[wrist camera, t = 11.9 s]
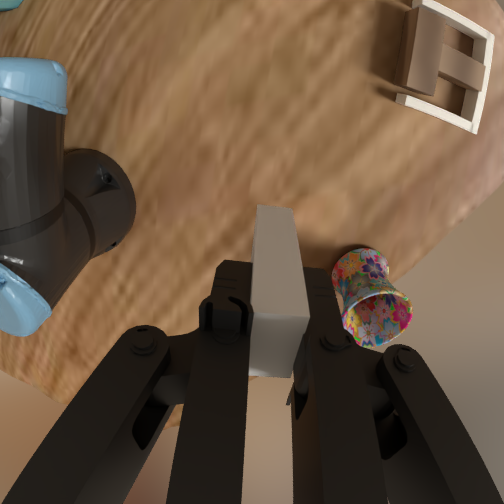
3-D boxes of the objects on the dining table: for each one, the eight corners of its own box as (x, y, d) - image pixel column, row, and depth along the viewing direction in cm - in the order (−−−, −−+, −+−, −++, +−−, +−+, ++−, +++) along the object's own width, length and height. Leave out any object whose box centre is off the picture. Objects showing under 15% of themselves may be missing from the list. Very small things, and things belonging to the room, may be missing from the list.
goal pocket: (395, 102, 30) (404, 104, 28) (412, 0, 23) (423, -5, 20) (464, 129, 31) (476, 134, 28) (481, 35, 23) (494, 35, 20)
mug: (324, 248, 41) (336, 300, 32) (388, 237, 40) (416, 284, 31) (332, 312, 47) (342, 365, 38) (388, 302, 46) (407, 352, 37)
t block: (393, 84, 29) (406, 85, 26) (405, 12, 24) (419, 6, 21) (459, 111, 29) (476, 116, 26) (471, 43, 24) (488, 43, 21)
